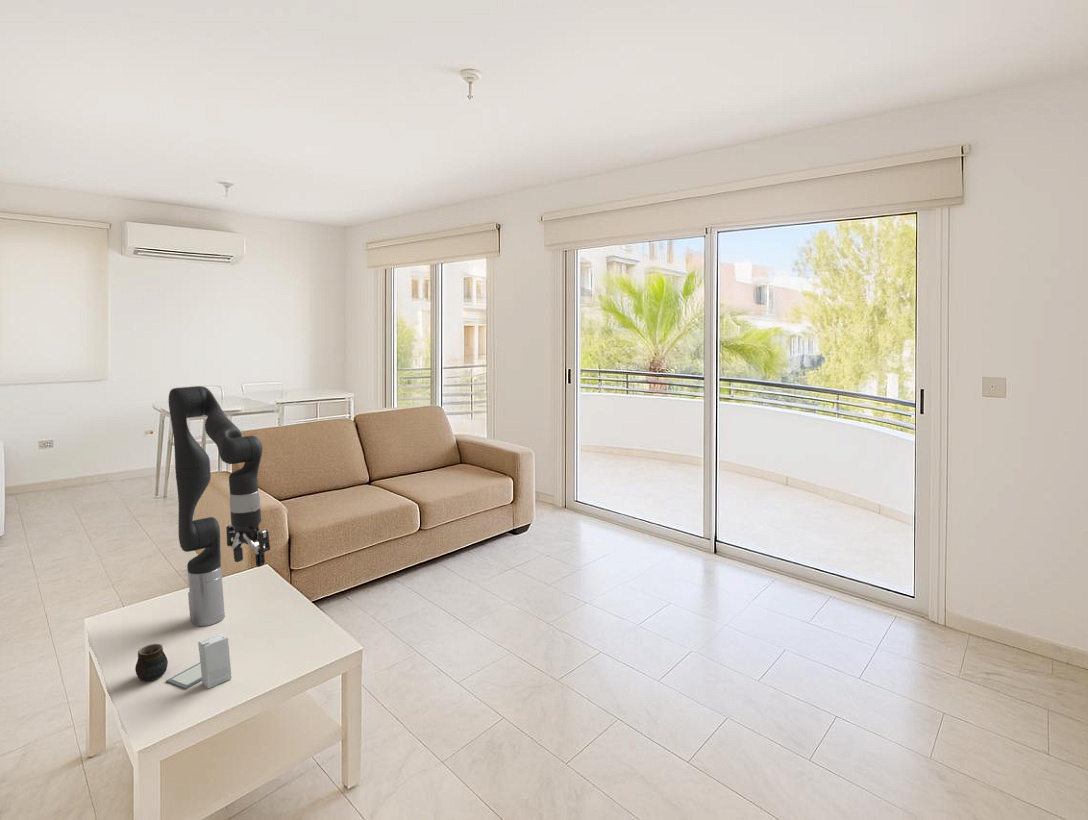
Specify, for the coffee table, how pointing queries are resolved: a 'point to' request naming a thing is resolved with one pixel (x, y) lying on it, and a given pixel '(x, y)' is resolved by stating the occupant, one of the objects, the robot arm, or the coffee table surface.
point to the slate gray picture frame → (187, 677)
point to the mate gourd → (151, 662)
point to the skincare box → (215, 660)
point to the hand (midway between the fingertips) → (249, 563)
